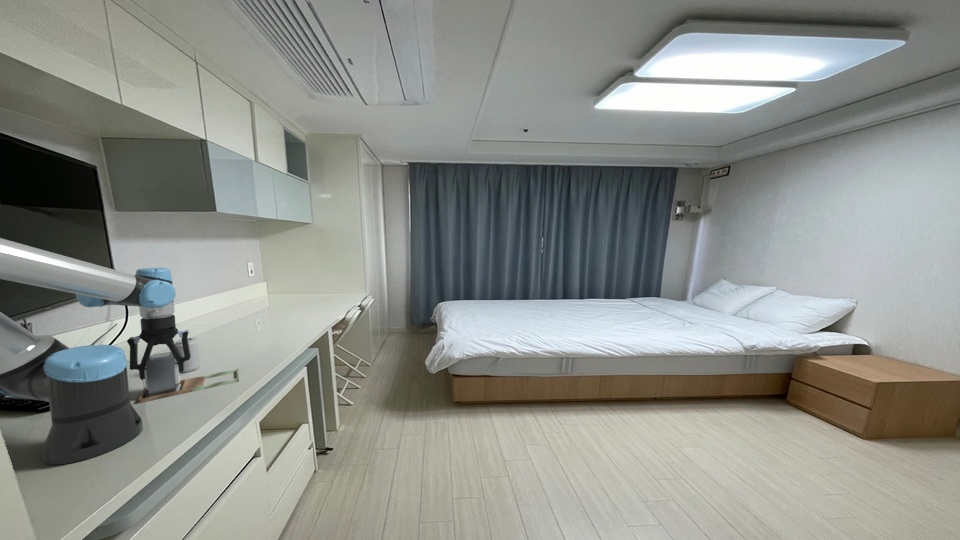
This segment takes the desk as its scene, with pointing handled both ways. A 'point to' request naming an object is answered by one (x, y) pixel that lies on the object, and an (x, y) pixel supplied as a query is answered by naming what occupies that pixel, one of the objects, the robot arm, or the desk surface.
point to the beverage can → (194, 359)
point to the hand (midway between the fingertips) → (163, 384)
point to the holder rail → (191, 385)
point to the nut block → (161, 374)
